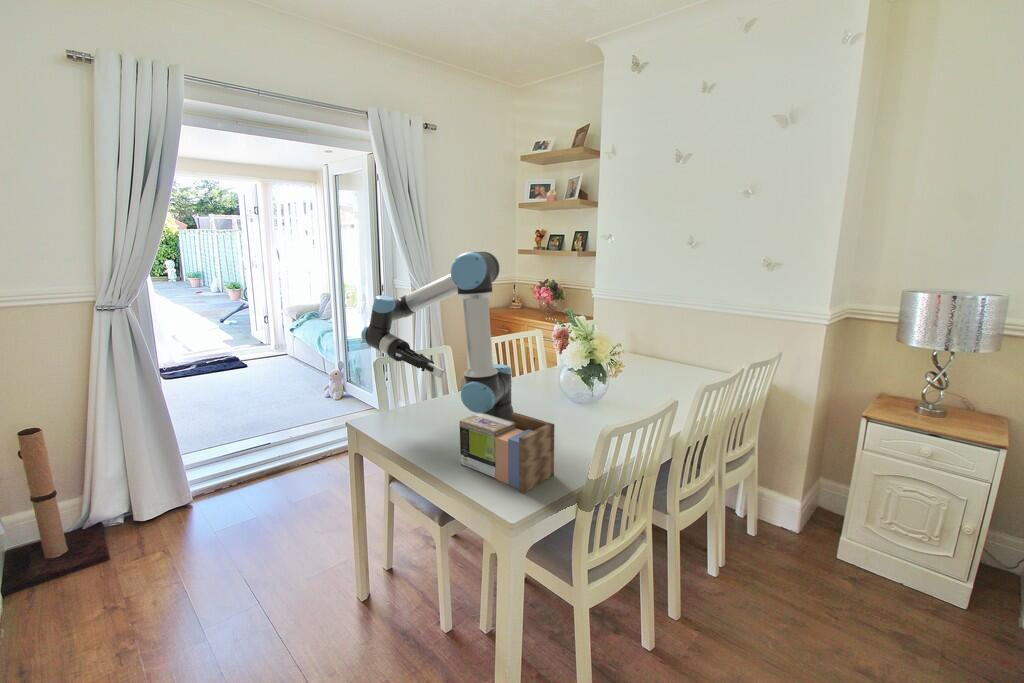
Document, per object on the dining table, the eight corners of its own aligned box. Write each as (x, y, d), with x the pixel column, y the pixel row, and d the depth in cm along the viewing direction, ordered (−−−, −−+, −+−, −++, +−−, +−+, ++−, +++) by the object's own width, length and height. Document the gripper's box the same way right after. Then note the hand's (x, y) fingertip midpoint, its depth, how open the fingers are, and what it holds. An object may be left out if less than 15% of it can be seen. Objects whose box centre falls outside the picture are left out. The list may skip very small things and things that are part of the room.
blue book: (527, 473, 142) (528, 429, 139) (538, 477, 139) (538, 432, 137) (508, 484, 135) (508, 438, 132) (519, 489, 133) (519, 442, 130)
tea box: (517, 467, 146) (516, 421, 143) (495, 479, 138) (494, 431, 135) (481, 453, 155) (481, 410, 152) (459, 464, 148) (458, 419, 145)
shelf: (515, 460, 150) (515, 412, 147) (553, 475, 141) (554, 424, 137) (484, 476, 140) (483, 425, 137) (523, 493, 130) (523, 439, 127)
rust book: (515, 468, 145) (515, 428, 143) (528, 473, 142) (528, 432, 140) (495, 479, 139) (495, 437, 136) (508, 484, 135) (508, 441, 133)
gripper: (404, 359, 175) (450, 385, 163) (377, 356, 164) (424, 383, 152) (411, 340, 174) (457, 364, 162) (385, 335, 163) (432, 362, 151)
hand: (441, 374), depth 157 cm, fingers closed
